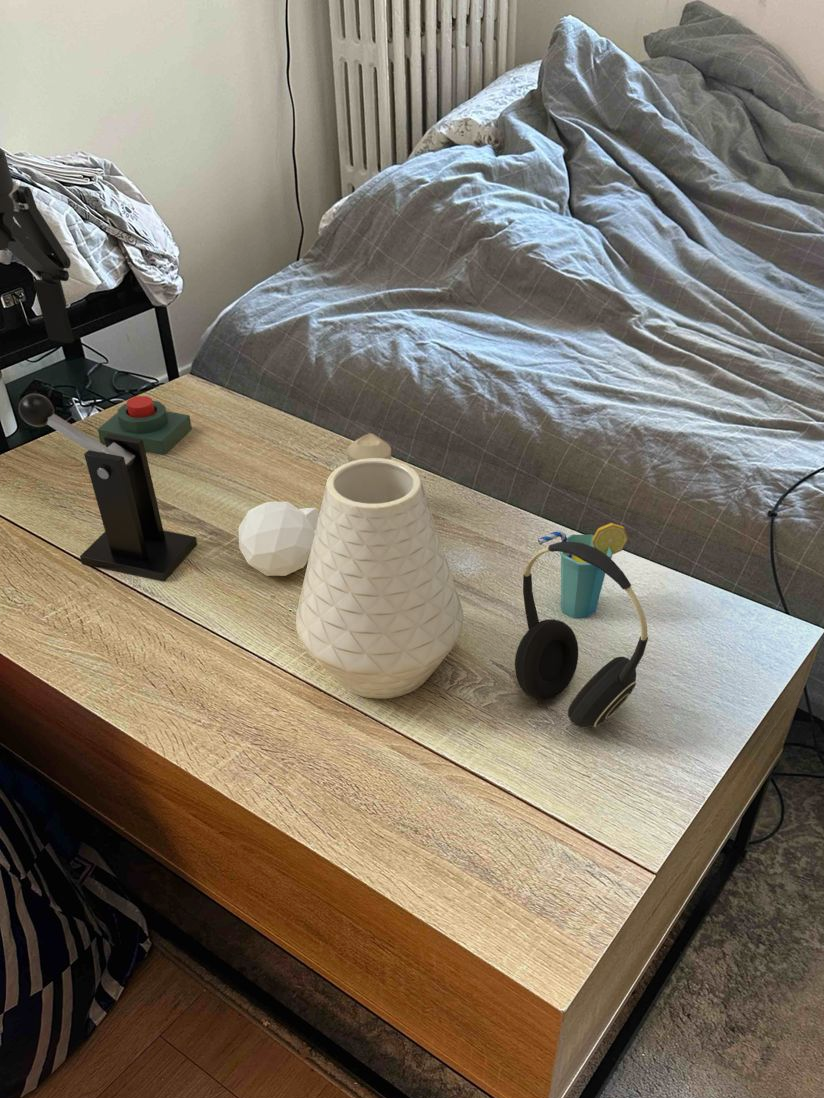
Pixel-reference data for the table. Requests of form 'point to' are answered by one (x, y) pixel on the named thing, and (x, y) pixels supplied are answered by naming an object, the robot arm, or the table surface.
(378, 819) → the table surface
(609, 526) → the cup
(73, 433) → the lever
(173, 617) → the table surface
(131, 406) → the button
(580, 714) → the headphones
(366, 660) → the vase
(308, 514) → the white faceted round piece
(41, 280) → the robot arm
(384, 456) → the candle
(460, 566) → the table surface
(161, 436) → the button box
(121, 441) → the bracket
